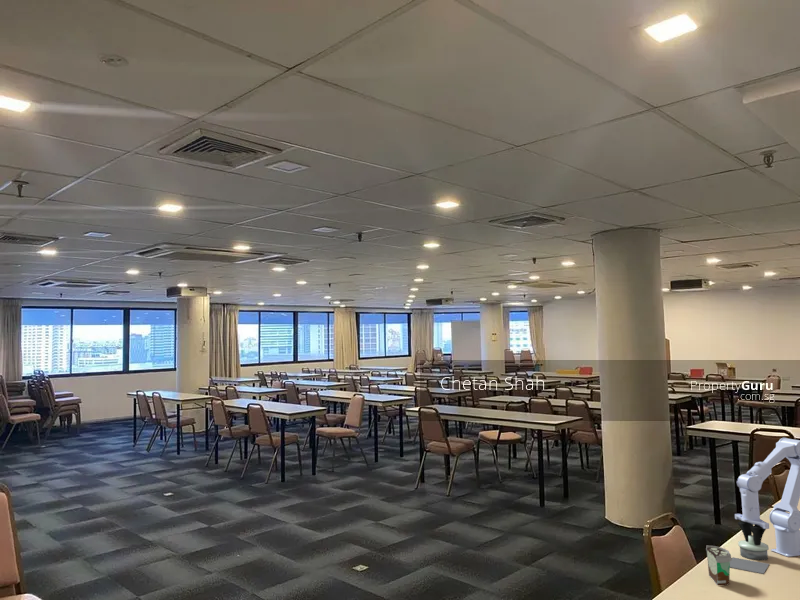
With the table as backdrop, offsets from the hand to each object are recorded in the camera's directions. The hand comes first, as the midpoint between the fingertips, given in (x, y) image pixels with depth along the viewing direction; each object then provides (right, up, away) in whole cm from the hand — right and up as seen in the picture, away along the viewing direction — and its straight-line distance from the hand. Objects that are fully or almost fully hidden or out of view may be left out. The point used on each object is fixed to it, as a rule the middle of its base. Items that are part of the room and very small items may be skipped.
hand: (753, 543), depth 227 cm
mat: (-8, -4, -10) cm, 14 cm away
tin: (0, -5, 0) cm, 5 cm away
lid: (0, -1, 0) cm, 1 cm away
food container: (-25, -3, -24) cm, 35 cm away
